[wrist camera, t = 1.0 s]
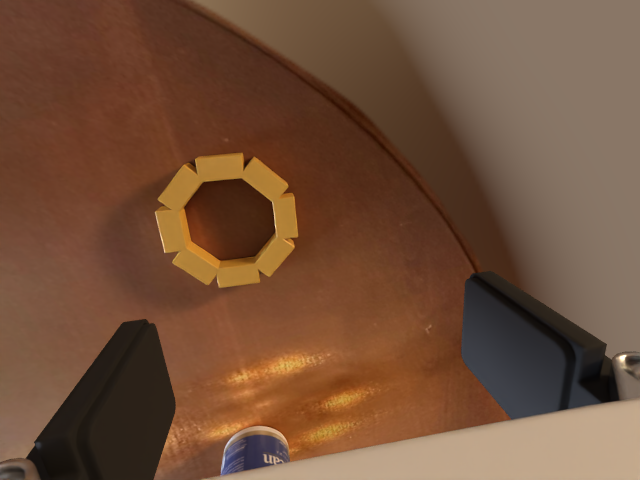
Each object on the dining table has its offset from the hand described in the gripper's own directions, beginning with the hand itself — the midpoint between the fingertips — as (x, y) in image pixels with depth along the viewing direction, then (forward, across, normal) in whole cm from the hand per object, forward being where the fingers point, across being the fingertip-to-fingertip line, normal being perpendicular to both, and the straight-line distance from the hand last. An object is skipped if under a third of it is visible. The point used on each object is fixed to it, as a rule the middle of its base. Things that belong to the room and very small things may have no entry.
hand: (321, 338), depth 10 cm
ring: (+14, +4, 0) cm, 15 cm away
